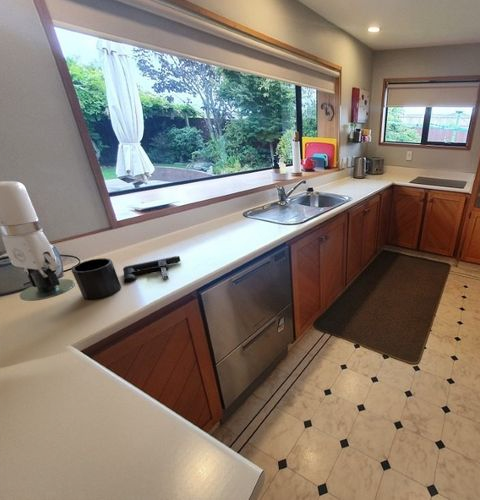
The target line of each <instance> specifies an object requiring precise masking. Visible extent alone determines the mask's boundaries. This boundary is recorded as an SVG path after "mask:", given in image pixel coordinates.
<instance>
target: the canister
mask: <svg viewBox="0 0 480 500" xmlns="http://www.w3.org/2000/svg"><path fill="white" fill-rule="evenodd" d="M70 270H71V272H72V276H73V278H74V280H75V282H76V284H77V286H78V289H79V291H80V293H81V296H82V298H83V299H84V300H85V301H99V300H104V299H107V298H110V297H112V296H115V295H116V294H118V293H119V292H120V291H121V289H122V285H121V283H120V280H119V277H118V274H117V271H116V268H115V265H114V263H113V261H112V259H110V258H106V257H104V258H103V257H102V258H101V257H100V258H93V259H88V260H85V261H82V262H78V263H77V264H75V265H74V266H73V267H72V268H70Z"/></svg>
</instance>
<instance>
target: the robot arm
mask: <svg viewBox="0 0 480 500" xmlns="http://www.w3.org/2000/svg"><path fill="white" fill-rule="evenodd" d="M38 217H39V216H38V215H37V212H36V210H35V208H34V205H33V203H32V201H31V198H30V196H29V193H28V190H27V189H26V186H25V185H24V184H23V183H22V182H19V181H14V180H13V181H12V180H7V181H6V180H4V181H0V234H1V238H2V243H3V245H4V249H5V252H6V254H7V256H8V259H9V261H10V263H11V265H12V266H14V267H16V268H21V269H23V271H24V274H25V275H27V277H28V279H29V281H30V284H31V286H33V287H36V284H35V282H34V280H33V278H32V276H31V274H30V273H31V272H32V271H34V270H39V271H40V273H41V274H42V276H43V277H41V278H42V281H43V283H44V285H45V287H46V289H51V288H53V287H55V286H58V285H59V284H60V283H59V280H58V279H59V278H58V276H57V270H58V269H59V268H60V265H59V264H58V263H57V257H56V254H55V252H54V250H53V247H52V246H51V243H50V242H49V240H48V238H47V236H46V235H45V233H44V232H43V230H44V229H43V227H42V225H41V222H40V220H39V218H38ZM44 268H48V269H47V270H46V271H45V270H44Z"/></svg>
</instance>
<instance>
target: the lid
mask: <svg viewBox="0 0 480 500" xmlns="http://www.w3.org/2000/svg"><path fill="white" fill-rule="evenodd" d="M47 269H48V267H46V268H44V270H45V271H46V270H47ZM30 274H31V276H32V278H33V280H34V282H35V284H36V287H33V286H32V285H31V286H29V287H27V288H25V289H24V290H22V292H20V293H19V298H20V300H21V301H26V302H35V301H43V300H47V299H51V298H55V297H57V296H60V295H63V294H65V293H67V292H69V291H71V290H72V289H73V288H74V287H75V285H76V283H75V281H74V280H72V279H70V278H58V280H59V283H60V284H59V285H58V286H55V287H53V288H51V289H46V287H45V285H44V283H43V281H42V278H41V277H43V276H42V274H41V273H40V271H39V270H34V271H32V272H31V273H30Z"/></svg>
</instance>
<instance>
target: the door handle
mask: <svg viewBox="0 0 480 500" xmlns="http://www.w3.org/2000/svg"><path fill="white" fill-rule="evenodd" d="M180 262H181V257H180V255H175V256H170V257H163V258H159V259H154V260H150V261H144V262H140V263H135V264H130V265H125V266H124V267H123V269H122V271H123V282H124V283H126V284H129V283H133V282H135V281H136V280H137V277H140V276H145V275H150V274H155V273H159V272H160V273H161V274H162V278H163V281H166V280H169V274H168V271H169V268H168V266H169V265H173V264H178V263H180Z"/></svg>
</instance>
